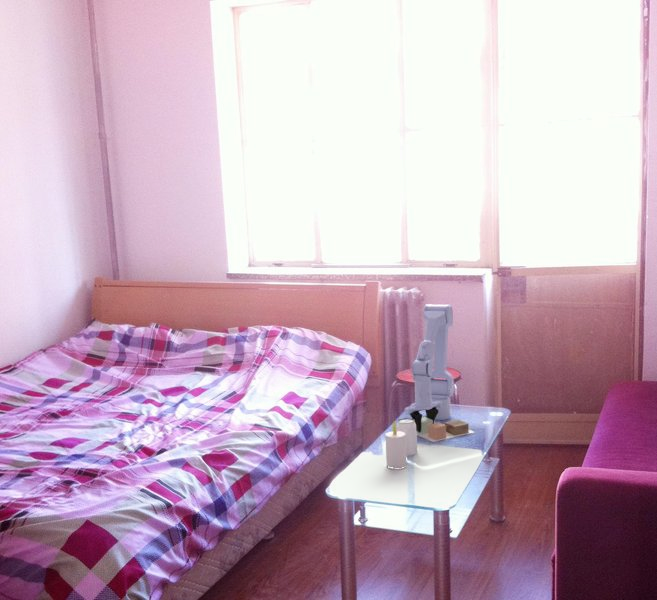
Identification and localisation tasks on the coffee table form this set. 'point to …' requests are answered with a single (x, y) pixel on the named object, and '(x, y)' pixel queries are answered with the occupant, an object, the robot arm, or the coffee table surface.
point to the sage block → (425, 425)
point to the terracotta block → (437, 431)
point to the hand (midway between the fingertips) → (424, 429)
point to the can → (408, 434)
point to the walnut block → (457, 427)
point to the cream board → (443, 438)
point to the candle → (395, 448)
